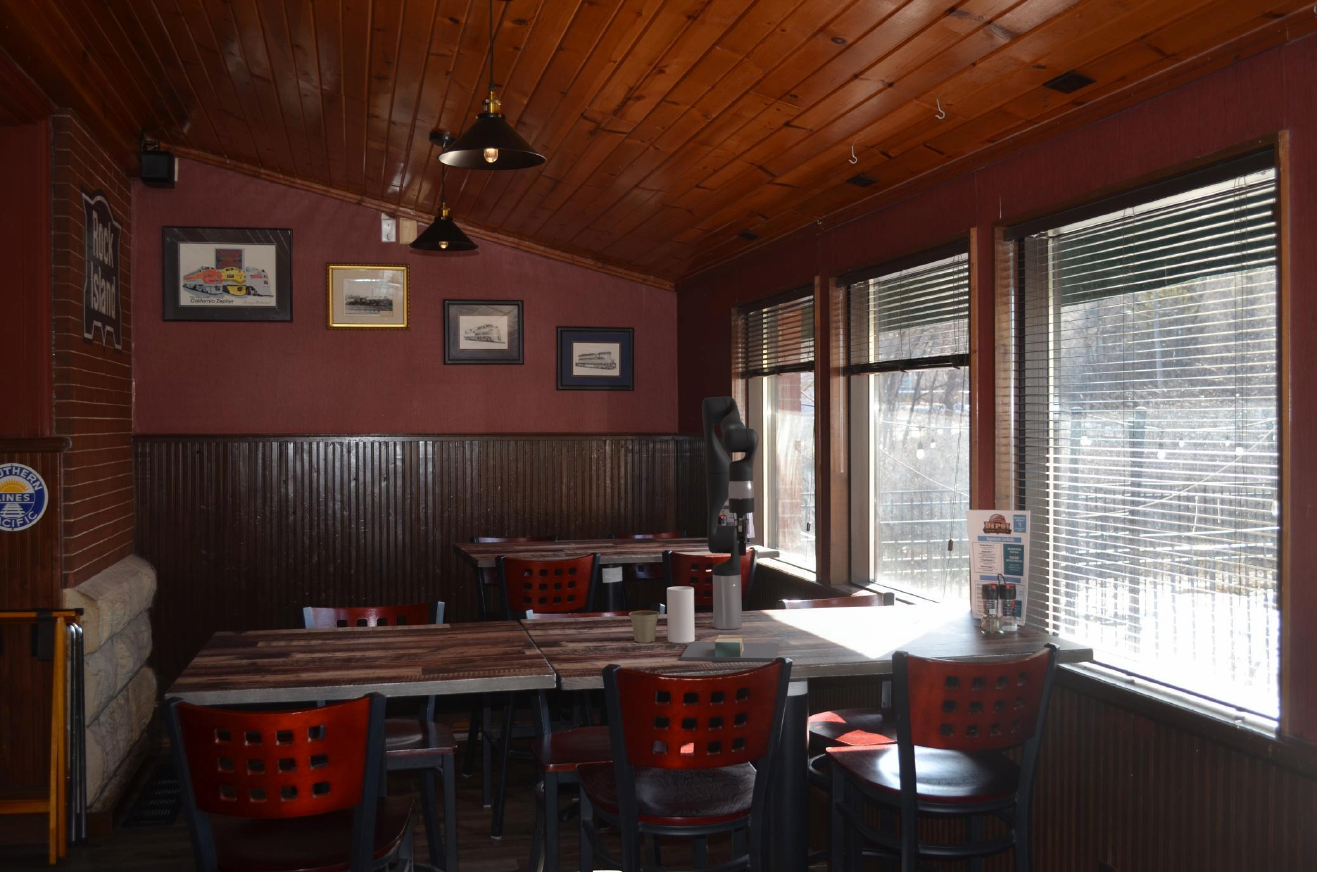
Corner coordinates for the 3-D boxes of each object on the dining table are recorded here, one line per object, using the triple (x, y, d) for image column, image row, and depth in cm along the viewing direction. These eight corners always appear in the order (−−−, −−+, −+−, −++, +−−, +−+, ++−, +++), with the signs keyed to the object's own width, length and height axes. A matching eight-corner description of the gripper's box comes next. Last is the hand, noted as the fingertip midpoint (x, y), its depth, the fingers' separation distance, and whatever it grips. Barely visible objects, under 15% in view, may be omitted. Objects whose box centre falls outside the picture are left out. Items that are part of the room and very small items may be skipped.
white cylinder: (670, 643, 323) (669, 590, 323) (665, 638, 331) (664, 587, 331) (697, 642, 325) (696, 589, 325) (691, 637, 333) (690, 585, 333)
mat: (690, 645, 319) (690, 642, 319) (778, 646, 315) (778, 643, 315) (680, 660, 298) (680, 656, 298) (774, 661, 293) (774, 658, 293)
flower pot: (635, 645, 321) (635, 616, 321) (624, 640, 330) (624, 612, 330) (664, 642, 325) (664, 614, 325) (653, 637, 334) (652, 609, 334)
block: (719, 635, 308) (714, 642, 297) (743, 635, 307) (740, 642, 296) (719, 649, 308) (715, 656, 297) (743, 649, 307) (740, 656, 296)
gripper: (730, 495, 322) (731, 553, 322) (726, 497, 309) (727, 558, 309) (755, 495, 321) (756, 553, 321) (752, 497, 308) (753, 558, 308)
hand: (742, 555), depth 315 cm, fingers closed
